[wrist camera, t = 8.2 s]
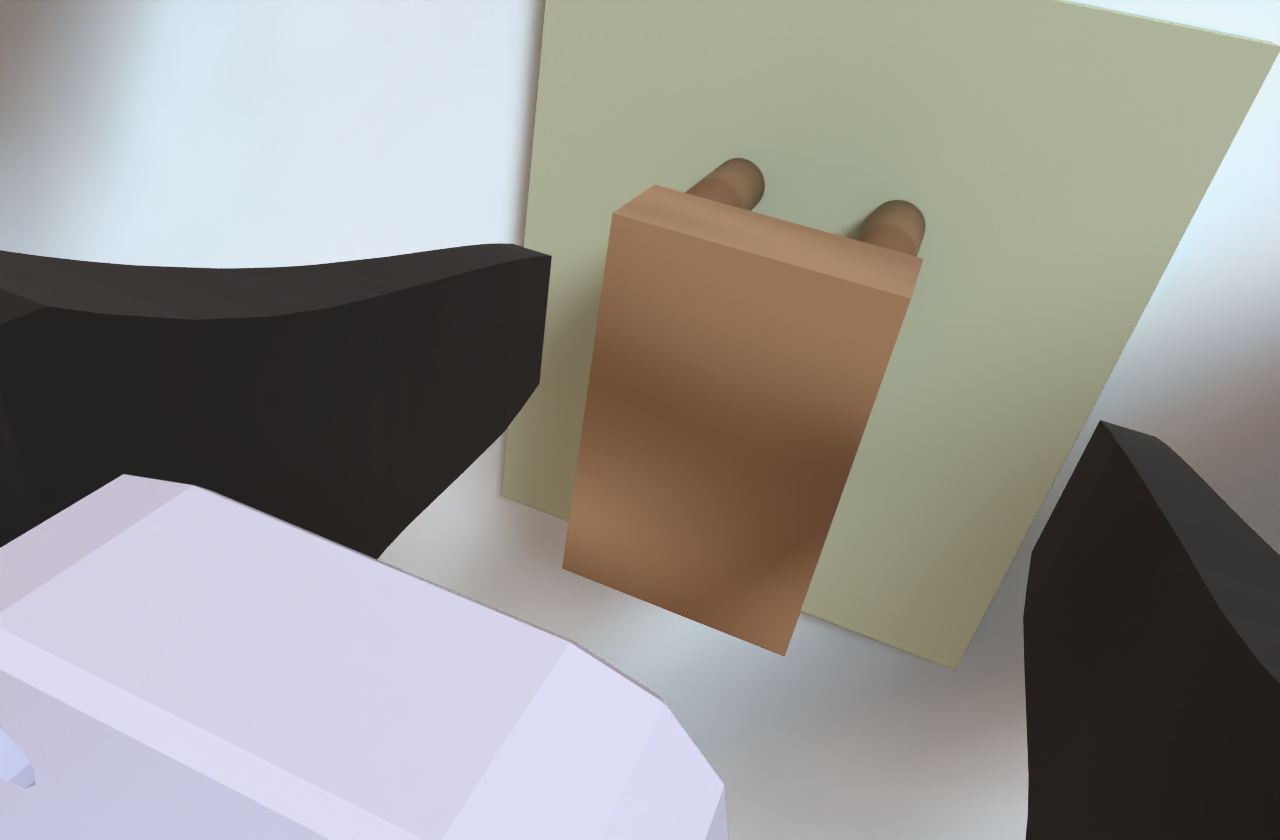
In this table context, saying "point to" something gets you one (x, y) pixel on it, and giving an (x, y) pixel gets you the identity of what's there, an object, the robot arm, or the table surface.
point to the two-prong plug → (731, 397)
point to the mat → (951, 247)
